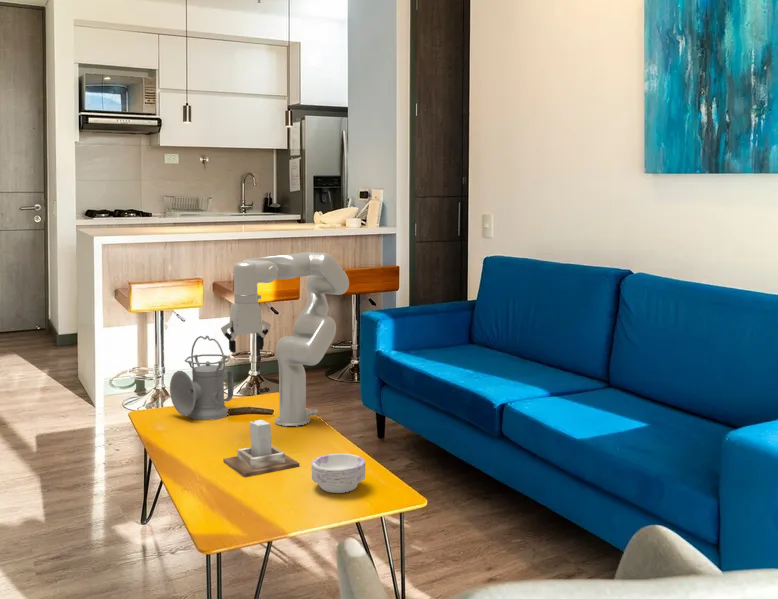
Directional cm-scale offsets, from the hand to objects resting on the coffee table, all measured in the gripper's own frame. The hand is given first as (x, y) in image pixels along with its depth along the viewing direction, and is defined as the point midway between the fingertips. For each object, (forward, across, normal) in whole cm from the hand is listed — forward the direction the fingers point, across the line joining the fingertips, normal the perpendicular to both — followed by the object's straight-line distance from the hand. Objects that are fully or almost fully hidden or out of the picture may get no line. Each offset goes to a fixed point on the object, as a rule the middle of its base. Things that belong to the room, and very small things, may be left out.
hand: (246, 350), depth 270 cm
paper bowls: (+31, -3, +56) cm, 64 cm away
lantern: (+31, 0, -36) cm, 47 cm away
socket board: (+30, +7, +26) cm, 41 cm away
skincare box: (+30, +7, +26) cm, 40 cm away
